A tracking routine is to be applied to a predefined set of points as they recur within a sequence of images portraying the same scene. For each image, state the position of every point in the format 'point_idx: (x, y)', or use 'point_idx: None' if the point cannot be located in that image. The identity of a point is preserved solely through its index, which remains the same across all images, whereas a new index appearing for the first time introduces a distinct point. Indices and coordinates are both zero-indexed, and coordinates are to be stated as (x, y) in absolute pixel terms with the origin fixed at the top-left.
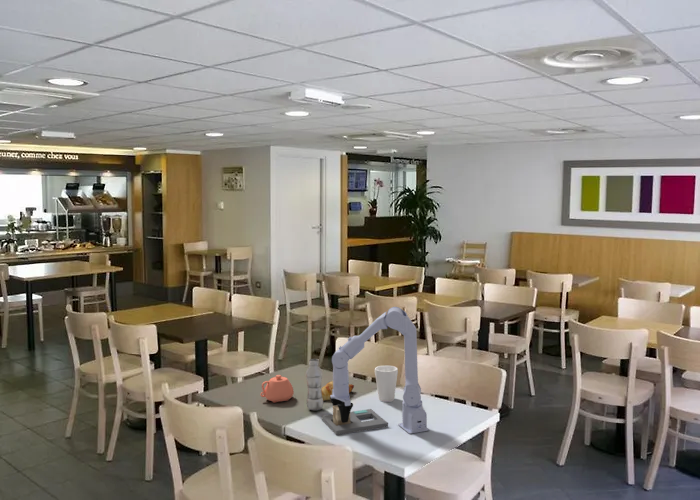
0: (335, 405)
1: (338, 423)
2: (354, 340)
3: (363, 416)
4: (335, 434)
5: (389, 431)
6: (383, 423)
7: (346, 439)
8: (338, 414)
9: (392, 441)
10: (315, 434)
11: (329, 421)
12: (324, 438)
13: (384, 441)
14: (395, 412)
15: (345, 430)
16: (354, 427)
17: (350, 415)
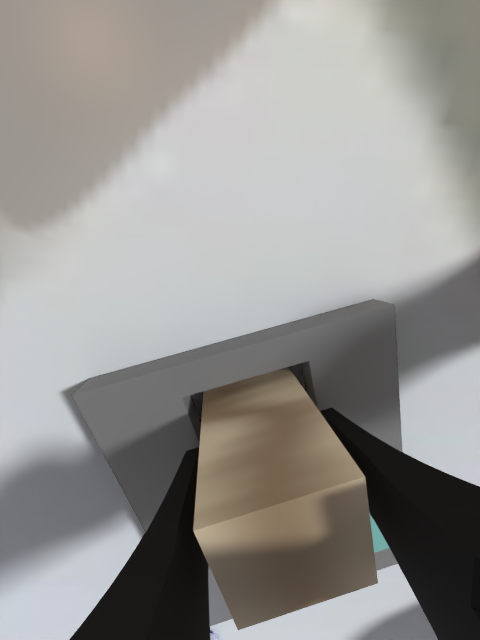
0: (364, 504)
1: (203, 417)
2: None
3: None
4: (101, 375)
5: None
6: None
7: (15, 435)
8: (201, 483)
9: (7, 622)
10: (105, 234)
11: (273, 354)
12: (22, 299)
13: (3, 597)
14: (361, 611)
15: (106, 448)
16: (140, 500)
17: None
